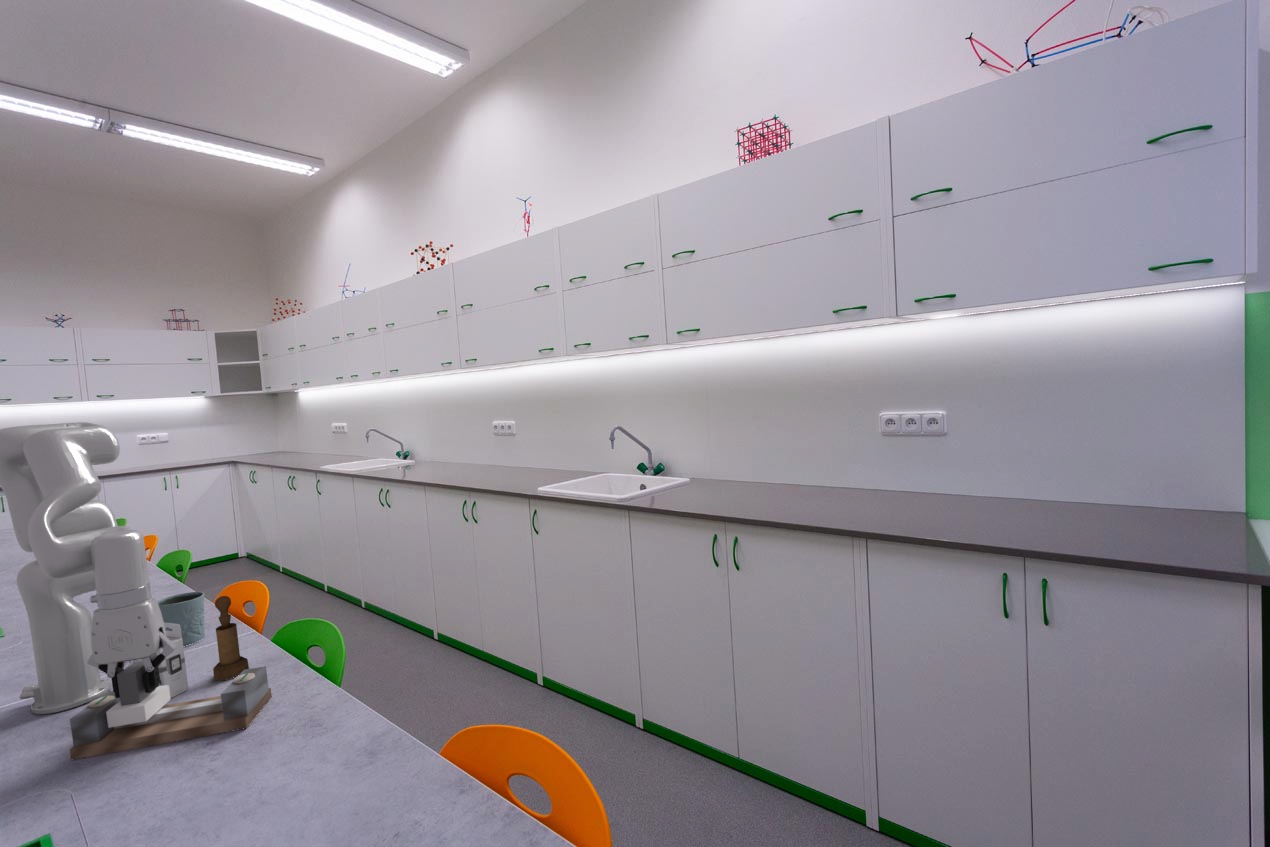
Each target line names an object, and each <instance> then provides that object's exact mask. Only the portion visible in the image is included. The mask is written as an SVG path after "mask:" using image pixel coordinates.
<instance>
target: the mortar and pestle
mask: <svg viewBox="0 0 1270 847" xmlns="http://www.w3.org/2000/svg"><path fill="white" fill-rule="evenodd" d="M231 604H232V599H231V597H229V596H228V595H222V596H219V597H217V598H216V600H215V602H214V607H215V609H217V610H218V612H219V617H218V621H219V623H220V625H218V626H217V627H216V628H215V635H216V642H217V650H218V658H219V659H218V661H219V662H218V663H217V664H216V665H215V666H213V669H212V671H213V679H214V680H215V681H219V682H221V681H220V680H223V681H227V680H226V679H229V680H231V679H230V678H232V679H234V678H233V677H235V678H236V676H238V675H240V674H241V672H242V671H243V670H246V669H250V667H249V660H248V658H247V657H244V656H242V655H241V651H240V644H239V635H238V627H237V626H238V625H237V623H234V622H231V619H232V618H231V617H232V615H231V614H229V609H230V607H231Z"/></svg>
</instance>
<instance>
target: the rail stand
mask: <svg viewBox="0 0 1270 847" xmlns="http://www.w3.org/2000/svg"><path fill="white" fill-rule="evenodd" d="M272 697H273V695H272V688H271V687H269V682H268V673H267V667H266V666H260V667H253V668H249V669H246V670H243V671H242V672H241V674H240V675H239V676H238V677H235V678H233V680H232V681H231V683H230V684H229V685H228V686H227V687H226V688H225V689H224V690H223V691H222V692H221V693H220V695H219V696H212V697H207V698H200V699H194V700H188V701H182V702H176V703H171V704H165V705H164V706H163V707H162V708H161V709H159V710H158V711H157V712H156V713H155V714H154V715H153V716H152V717H150V718H149V719H148V720H147V721H145V722H139V723H133V724H127V725H122V726H116V727H110V728H108V721H107V714H106V712H107V711H108V710H109V709H110V708H112V707H113V706H114V705H116V704H117V703H118V702H119V701H120V698H116V697H115V692H114V691H113V690H110V691H107V692H106V693H105V694H103V695H102V696H100V697H98V698H96V699H94V700H92V701H90V702H88V703H87V704H88V705H87V706H86V707H84V708H83V709H81V710H80V711H79V712H77V713H76V714H74V715H73V716H72V717H71V718H70V719H69V723H70V729H71V736H72V744H73V745H72V746H71V748H69V755H70V760H71V759H75V760H77V759H76V758H81V759H84V758H83V757H86V758H89V757H88V756H92V757H96V756H95V755H97V756H102V754H103V755H107V754H108V753H109V754H113V753H119V752H124V751H131V750H135V749H140V748H141V749H142V748H147V747H152V746H158V745H163V744H164V743H165V744H169V743H175V742H174V741H176V742H180V741H179V740H181V741H185V740H184V739H187V740H191V739H190V738H193V739H197V738H203V736H204V737H208V735H209V736H214V735H213V734H215V735H218V734H217V733H221V734H223V733H222V732H226V733H228V732H227V731H232V730H237V729H243V728H247V727H248V728H249V726H250V725H251V724H252V723H253V721H254V720H255V719H256V718H257V716H258V715H259V714H260V713H261V711H262V710H263V709H264V707H265V706H266V705H267V704H268V703H269V701H270V700H271V699H272ZM270 698H271V699H270ZM269 699H270V700H269ZM268 700H269V701H268ZM266 703H267V704H266ZM265 704H266V705H265ZM264 705H265V706H264ZM263 706H264V707H263ZM262 708H263V709H262ZM261 709H262V710H261ZM260 710H261V711H260ZM259 712H260V713H259ZM258 713H259V714H258ZM257 714H258V715H257ZM256 715H257V716H256ZM255 717H256V718H255ZM254 718H255V719H254ZM253 719H254V720H253ZM252 720H253V721H252ZM251 722H252V723H251ZM250 723H251V724H250ZM249 724H250V725H249ZM248 725H249V726H248ZM248 728H247V729H248ZM243 730H244V729H243ZM237 731H238V730H237ZM232 732H233V731H232Z"/></svg>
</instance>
